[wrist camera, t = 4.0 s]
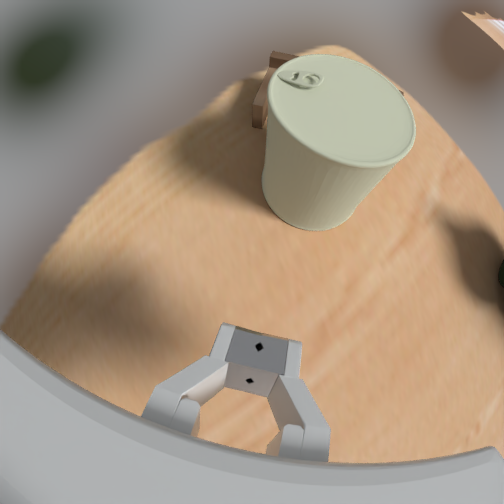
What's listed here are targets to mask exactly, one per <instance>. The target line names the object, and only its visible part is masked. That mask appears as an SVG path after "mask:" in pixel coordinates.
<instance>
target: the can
mask: <svg viewBox="0 0 504 504" xmlns="http://www.w3.org/2000/svg"><path fill="white" fill-rule="evenodd" d="M267 100H268V118H267V138H266V153H265V165H264V169H263V172H262V190H263V194H264V196H265V199H266V201H267V203H268V204H269V206H270V208H271V209H272V210H273V211H274V212H275V213H276V215H278V216H279V217H280V218H281V219H282V220H284V221H285V222H287V223H288V224H290V225H292V226H295V227H297V228H300V229H304V230H309V231H324V230H329V229H332V228H335V227H337V226H339V225H340V224H342V223H344V222H345V221H346V220H347V219H348V218H349V217H350V216H351V215H352V213H353V212H354V210H355V208H356V207H357V206H358V205H359V203H360V202H361V201H362V200H363V199H364V198H365V197H366V196H367V195H368V194H369V193H370V192H371V190H372V189H373V188H374V187H375V186H376V185H377V184H378V183H379V182H380V181H381V180H382V179H383V177H384V176H385V175H386V174H387V173H388V172H389V171H390V170H391V169H392V168H393V167H394V166H395V165H396V164H397V163H398V162H399V161H400V160H401V159H402V158H404V157H405V156H406V155H407V154H408V152H409V151H410V149H411V148H412V146H413V144H414V140H415V135H416V126H415V120H414V116H413V113H412V111H411V108H410V106H409V104H408V103H407V101H406V99H405V98H404V96H403V95H402V94H401V92H400V91H399V90H398V89H397V88H396V87H395V86H394V85H393V84H392V83H391V82H390V81H389V80H388V79H386V78H385V77H384V76H383V75H381V74H380V73H378V72H377V71H375V70H373V69H372V68H370V67H368V66H366V65H364V64H362V63H360V62H357V61H354V60H352V59H348V58H345V57H340V56H335V55H328V54H313V55H305V56H301V57H297V58H294V59H292V60H290V61H288V62H286V63H284V64H283V65H281V66H280V67H279V68H278V69H277V70H276V71H275V72H274V73H273V75H272V77H271V78H270V81H269V84H268V88H267Z"/></svg>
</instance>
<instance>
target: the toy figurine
mask: <svg viewBox="0 0 504 504" xmlns="http://www.w3.org/2000/svg"><path fill="white" fill-rule="evenodd" d="M499 281H500V284H501V285H502V286H503V287H504V260H503V263H502V265H501V268H500V271H499Z"/></svg>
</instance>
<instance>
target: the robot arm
mask: <svg viewBox="0 0 504 504" xmlns="http://www.w3.org/2000/svg"><path fill="white" fill-rule="evenodd" d="M301 352H302V342H300V341H295V340H291V339H287V338H283V337H278V336H274V335H269V334H265V333H259V332H256V331H252V330H249V329H245V328H242V327H238V326H235V325H231V324H228V323H224V322H223V323H222V325H221V326H220V329H219V332H218V334H217V337H216V339H215V342H214V345H213V347H212V350H211V353H210V355H209V356H206V355H205V356H203V357H202V358H200V359H199V360H197V361H196V362H194V363H192V364H191V365H189V366H188V367H186V368H184V369H183V370H181V371H180V372H178V373H176V374H175V375H173V376H171V377H170V378H168V379H166V380H165V381H163V382H161V383H160V384H158V385H156V386H155V388H154V390H153V393H152V395H151V397H150V399H149V401H148V403H147V405H146V407H145V409H144V411H143V413H142V416H141V417H140V416H138V415H136V414H134V413H131V412H129V411H127V410H125V409H123V408H121V407H118V406H116V405H114V404H112V403H110V402H108V401H106V400H104V399H102V398H101V397H99V396H97V395H95V394H93V393H91V392H89V391H88V390H86V389H84V388H82V387H81V386H79V385H77V384H76V383H74V382H72V381H71V380H69V379H67V378H66V377H64V376H63V375H61V374H59V373H58V372H56V371H55V370H53V369H52V368H50V367H49V366H47V365H46V364H44V363H43V362H42V361H40V360H39V359H37V358H36V357H35V356H33V355H32V354H31V353H29V352H28V351H27V350H25V349H24V348H23V347H21V346H20V345H19V344H17V343H16V342H15V341H14V340H13V339H11V338H10V337H9V336H8V335H6V334H5V333H4V332H3V331H2V330H1V329H0V504H504V459H503V457H502V456H501V454H500V453H499V452H498V450H497V449H496V448H495V447H493V446H488V447H484V448H480V449H476V450H472V451H468V452H463V453H459V454H454V455H448V456H443V457H436V458H430V459H422V460H413V461H402V462H387V463H338V462H328V456H329V445H330V432H331V429H330V427H329V425H328V423H327V422H326V420H325V418H324V416H323V415H322V413H321V411H320V409H319V408H318V406H317V404H316V402H315V401H314V399H313V397H312V395H311V393H310V392H309V390H308V388H307V386H306V385H305V383H304V381H303V379H299V372H300V363H301ZM224 387H227V388H231V389H236V390H240V391H244V392H248V393H252V394H256V395H260V396H264V397H268V398H267V399H268V402H269V404H270V407H271V410H272V412H273V415H274V417H275V420H276V422H277V425H278V428H279V430H280V432H279V433H278V434H277V435H276V436H275V437H274V438H273V440H272V441H271V442H270V443H269V444H268V445H267V450H266V454H262V453H256V452H251V451H247V450H242V449H238V448H234V447H229V446H226V445H222V444H218V443H214V442H211V441H207V440H204V439H201V438H197V435H198V432H199V429H200V407H201V406H202V405H203V404H205V403H206V402H207V401H208V400H210V399H211V398H212V397H213V396H214V395H216V394H217V393H218V392H219V391H221V390H222V389H223V388H224Z"/></svg>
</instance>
